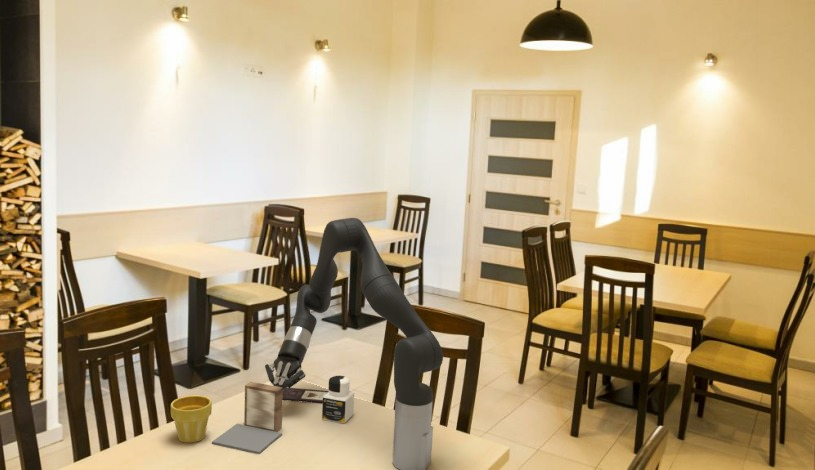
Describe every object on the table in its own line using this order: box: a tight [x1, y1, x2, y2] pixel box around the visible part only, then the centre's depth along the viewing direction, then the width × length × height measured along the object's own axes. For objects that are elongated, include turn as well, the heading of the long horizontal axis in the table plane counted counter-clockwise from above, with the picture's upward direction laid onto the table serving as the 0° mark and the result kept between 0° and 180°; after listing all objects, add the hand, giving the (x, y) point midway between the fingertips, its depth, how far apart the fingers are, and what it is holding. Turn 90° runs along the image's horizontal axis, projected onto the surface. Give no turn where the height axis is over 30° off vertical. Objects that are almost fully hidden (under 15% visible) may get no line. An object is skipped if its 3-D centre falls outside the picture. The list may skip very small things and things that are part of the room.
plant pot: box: [170, 394, 213, 444], centre depth 178 cm, size 10×10×10 cm
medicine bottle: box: [321, 375, 355, 424], centre depth 195 cm, size 7×7×12 cm
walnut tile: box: [243, 381, 283, 432], centre depth 186 cm, size 10×3×12 cm, turn 72°
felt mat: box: [211, 423, 283, 455], centre depth 179 cm, size 14×12×1 cm
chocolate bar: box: [282, 387, 329, 404], centre depth 210 cm, size 9×1×18 cm
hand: (274, 398), depth 191 cm, fingers closed
